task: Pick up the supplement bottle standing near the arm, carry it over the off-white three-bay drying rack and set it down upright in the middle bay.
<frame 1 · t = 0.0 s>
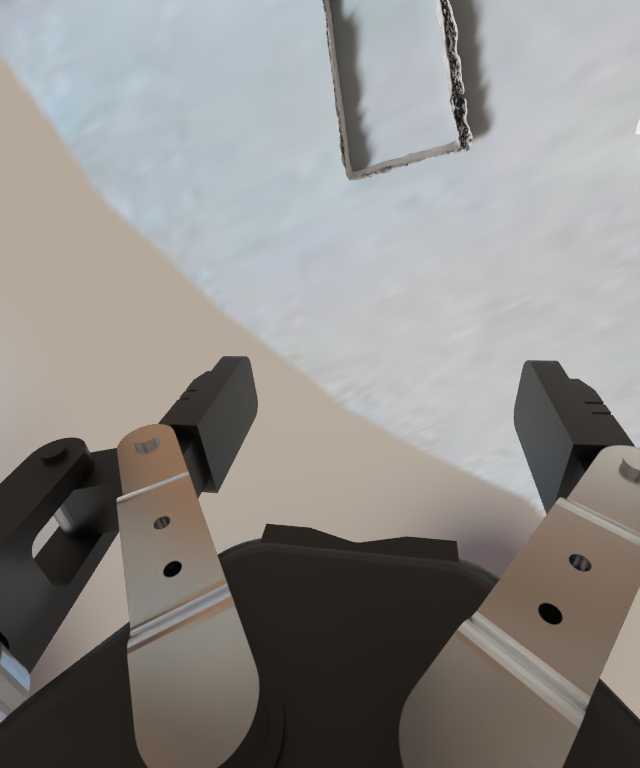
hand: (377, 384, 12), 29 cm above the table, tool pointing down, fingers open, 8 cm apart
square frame: (394, 72, 32), on the table
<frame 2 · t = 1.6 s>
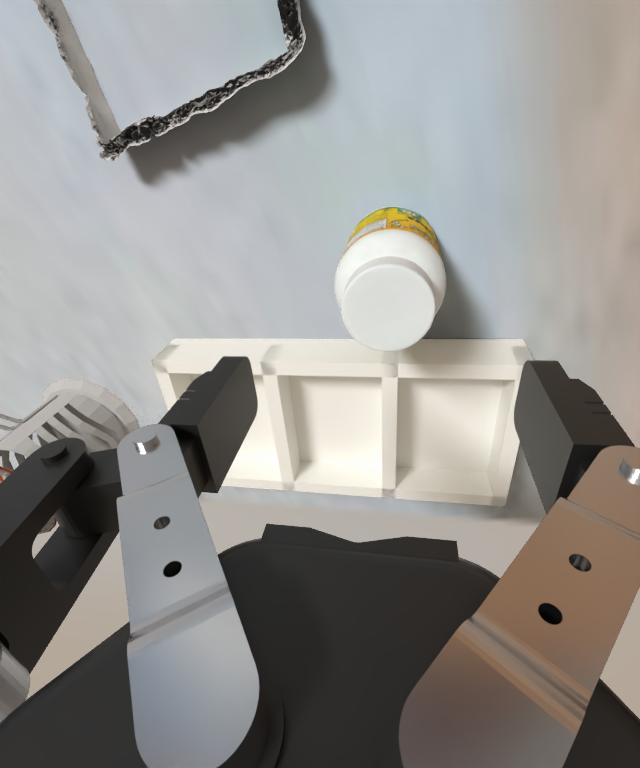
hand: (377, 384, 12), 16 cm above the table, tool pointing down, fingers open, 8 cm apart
rack: (339, 407, 32), on the table
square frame: (182, 18, 21), on the table
french press: (86, 414, 38), on the table
supplement bottle: (392, 250, 25), on the table
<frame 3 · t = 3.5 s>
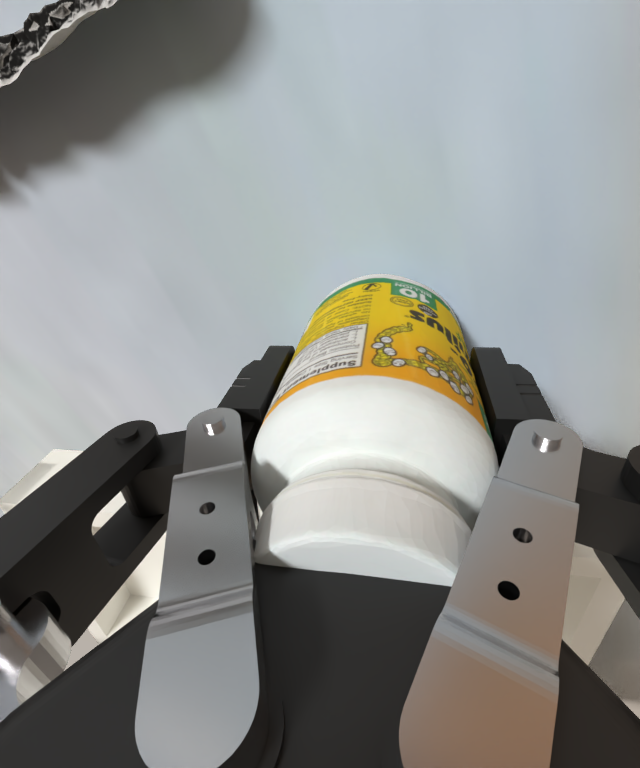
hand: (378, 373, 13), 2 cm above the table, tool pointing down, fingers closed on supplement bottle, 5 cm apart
rack: (305, 548, 22), on the table
supplement bottle: (382, 342, 15), on the table, touching gripper
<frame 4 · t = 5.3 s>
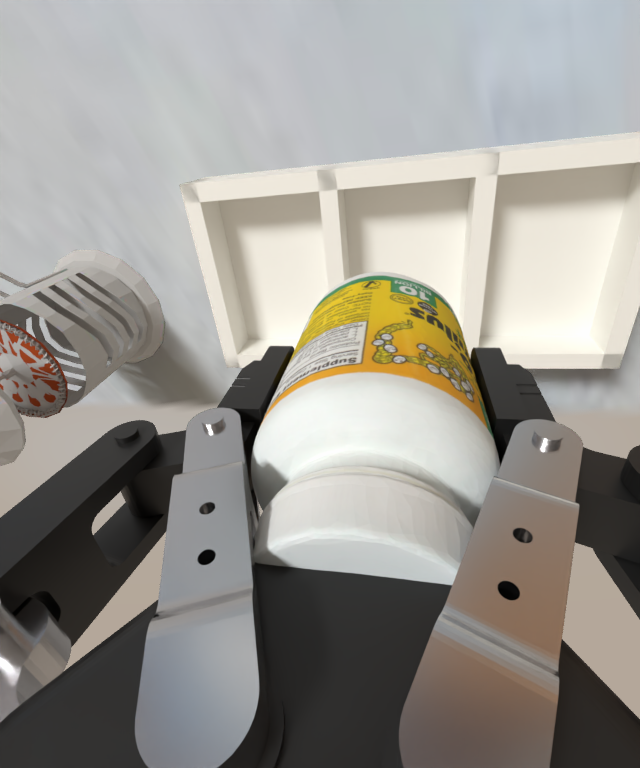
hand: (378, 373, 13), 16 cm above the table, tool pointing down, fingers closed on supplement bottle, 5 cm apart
rack: (404, 261, 26), on the table
french press: (100, 300, 33), on the table
supplement bottle: (382, 340, 15), point 14 cm above the table, touching gripper
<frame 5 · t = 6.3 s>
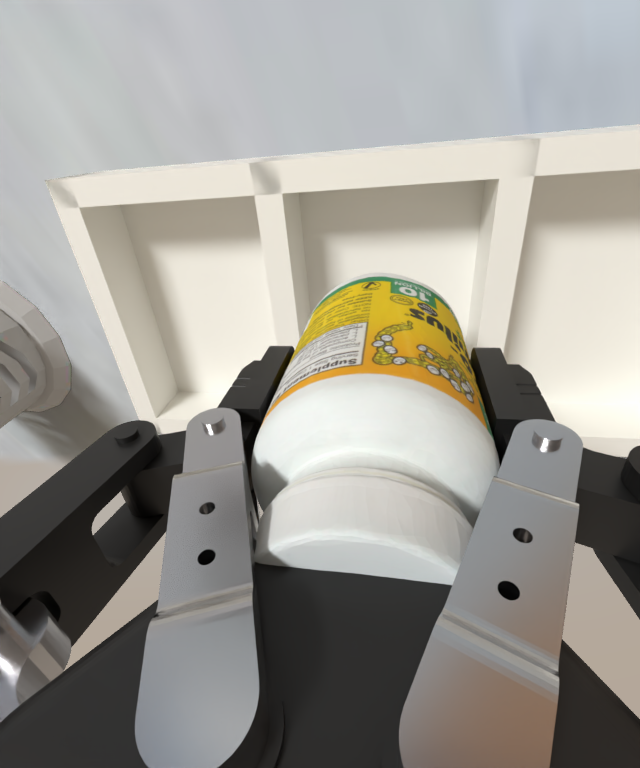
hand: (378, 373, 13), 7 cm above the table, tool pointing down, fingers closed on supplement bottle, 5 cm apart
rack: (388, 295, 19), on the table
supplement bottle: (382, 341, 15), point 5 cm above the table, touching gripper
when the fingers open (4 cm above the table, at t = 7.2 s): supplement bottle drops 1 cm, resting on rack.
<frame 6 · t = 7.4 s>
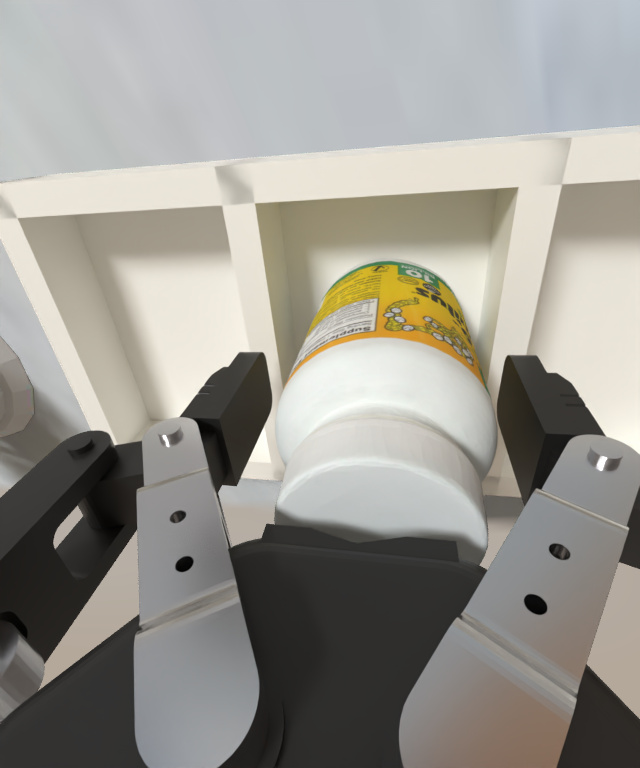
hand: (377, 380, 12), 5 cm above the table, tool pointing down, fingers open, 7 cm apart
rack: (383, 317, 16), on the table
supplement bottle: (388, 323, 16), point 1 cm above the table, touching rack
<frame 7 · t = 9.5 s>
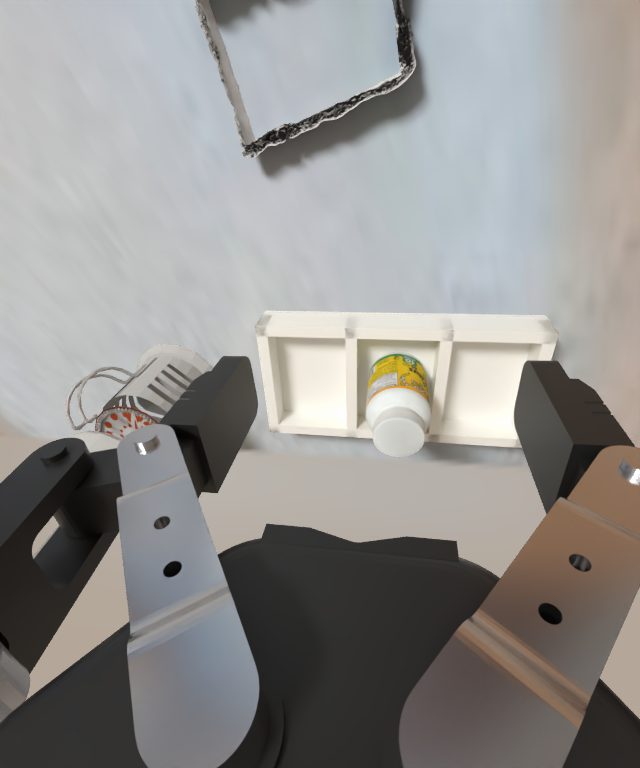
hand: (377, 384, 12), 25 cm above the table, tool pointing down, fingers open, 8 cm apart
rack: (394, 369, 40), on the table
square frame: (313, 49, 28), on the table
french press: (174, 376, 45), on the table
supplement bottle: (397, 373, 40), point 1 cm above the table, touching rack
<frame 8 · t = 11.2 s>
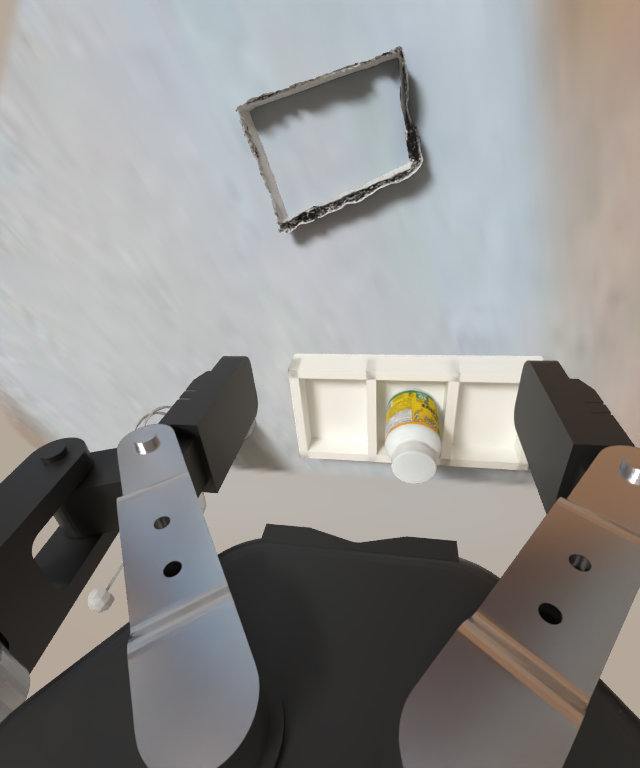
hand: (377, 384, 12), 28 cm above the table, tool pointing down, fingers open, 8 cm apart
rack: (409, 402, 46), on the table
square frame: (336, 145, 34), on the table
french press: (214, 408, 51), on the table
supplement bottle: (411, 405, 45), point 1 cm above the table, touching rack
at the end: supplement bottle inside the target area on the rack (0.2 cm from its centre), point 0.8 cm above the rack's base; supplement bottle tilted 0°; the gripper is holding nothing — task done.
